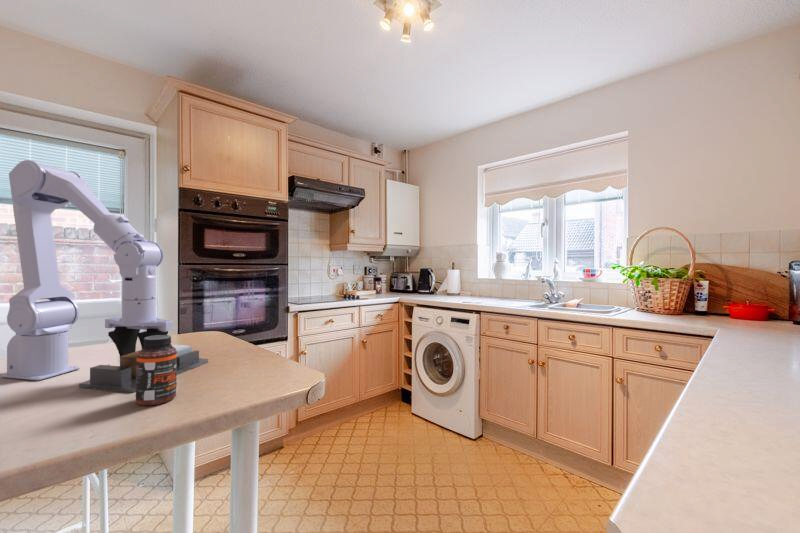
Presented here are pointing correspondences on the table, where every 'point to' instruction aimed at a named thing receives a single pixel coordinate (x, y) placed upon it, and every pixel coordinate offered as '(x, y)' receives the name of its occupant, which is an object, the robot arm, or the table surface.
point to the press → (121, 376)
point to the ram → (182, 349)
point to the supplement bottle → (156, 371)
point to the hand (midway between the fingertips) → (138, 363)
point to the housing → (129, 362)
